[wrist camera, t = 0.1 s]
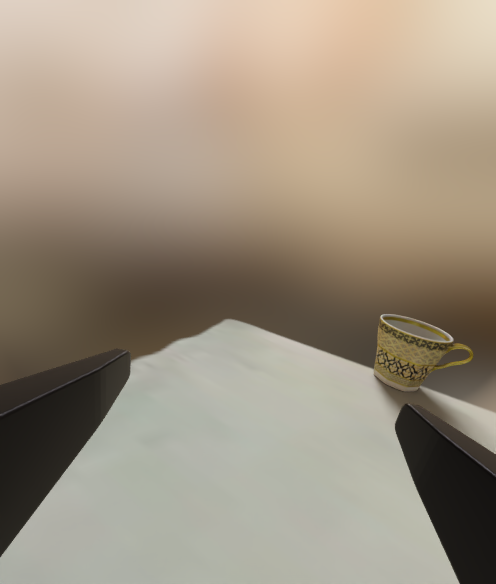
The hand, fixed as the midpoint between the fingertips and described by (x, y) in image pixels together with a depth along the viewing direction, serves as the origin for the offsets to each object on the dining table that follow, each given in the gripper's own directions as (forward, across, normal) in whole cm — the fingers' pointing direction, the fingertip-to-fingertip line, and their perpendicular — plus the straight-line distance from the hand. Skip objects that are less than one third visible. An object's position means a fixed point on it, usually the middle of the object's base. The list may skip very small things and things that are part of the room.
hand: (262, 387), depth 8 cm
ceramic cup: (+30, -27, +16) cm, 43 cm away
